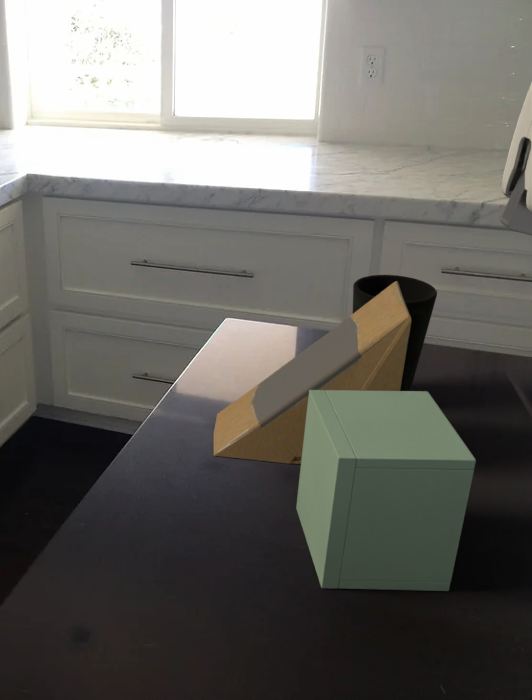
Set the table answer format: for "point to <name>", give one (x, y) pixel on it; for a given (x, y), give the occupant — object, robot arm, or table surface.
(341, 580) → the bin
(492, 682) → the table surface
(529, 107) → the robot arm
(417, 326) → the cup
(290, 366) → the sandwich container
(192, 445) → the table surface
